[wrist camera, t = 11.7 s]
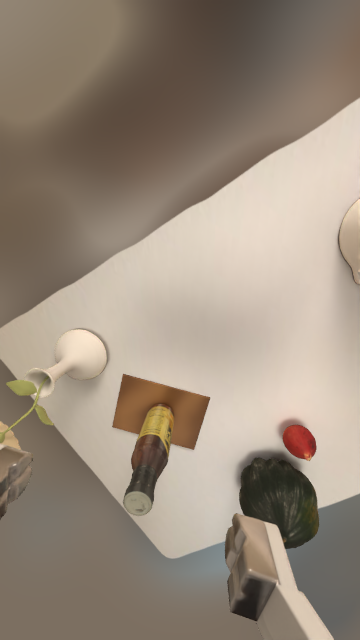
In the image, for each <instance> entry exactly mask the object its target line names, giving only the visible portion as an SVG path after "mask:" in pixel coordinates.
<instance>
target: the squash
mask: <svg viewBox="0 0 360 640" xmlns="http://www.w3.org/2000/svg"><path fill="white" fill-rule="evenodd" d="M241 486H242V487H241V489H240V493H239V501H240V505H241V509H242V511H243V514H244V516H248V517H252V518H255V519H259V520H261V521H264V522H268V523H271V524H275V525H277V527H278V529H279V531H280V534H281V537H282V541H283V544H284V547H285V549H289V548H296V547H298V546H301V545H303V544H304V543H305V542H308V541H309V540H311V539H312V538H313V537H314V536H315V535H316V533H317V531H318V527H319V517H318V511H317V497H316V492H315V489H314V487H313V485H312V484H311V482H310V481H309V479H308V478H307V477H306V476H305V475H304V474H303V473H301V472H300V471H298V470H297V469H295V468H294V467H293V466H292V465H291V464H290V463H289V462H287V461H285V460H280V461H277V460H276V459H273V458H271V459H269V460H267V461H265V460H264V459H262V458H255V459H254V460H253V461H252V464H251V465H249V466H247V467H246V468H245V469H244V470H243V472H242V475H241Z"/></svg>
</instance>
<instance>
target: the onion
mask: <svg viewBox="0 0 360 640" xmlns="http://www.w3.org/2000/svg"><path fill="white" fill-rule="evenodd" d="M283 442H284V445H285V447H286V448H287V449H288V451H289V452H290V453H291V454H292V455H294V456H296V457H298V458H301V459H306V460H309V461H310V460H311V458H312V457H313V456H314V454H315V452H316V441H315V438H314V436H313V435H312V434H311V432H310V431H309V430H308V429H307V428H305V427H303V426H300V425H292V426H289V427H287V428H286V429H285V431H284V433H283Z"/></svg>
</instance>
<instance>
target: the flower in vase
mask: <svg viewBox="0 0 360 640" xmlns="http://www.w3.org/2000/svg"><path fill="white" fill-rule="evenodd" d="M55 359H56V362H57V364H56V365H54V366H52V367H50V368H47V369H40V368H34V369H31V370H29V371H28V372H27V373H26V374H25V377H24V380H17V381H12V382H8V383H6V384H7V385H8V386H9V387H10V388H11V389H12V390H13V391H14V392H15V393H16V394H18V395H20V396H24V395H31V394H32V395H34V396H36V399H35V402H34V404H33V406H32V408H31V409H30V410H29V411H28V412H27V413H26V414H25V415H24V416H22V417H21V418H20V419H19V420H18V421H16V422H15V423H14V424H13V425H11V426H10V427H8V426H7V425H5V424H3V423H2V422H1V421H0V444H4V445H7V446H10V447H13V448H16V449H19V450H21V449H20V446H19V445H18V444H19V442H18V440H17V439H16V438H15V437H13V436H14V433H13V432H12V431H11V430H10V429H11V428H13V427H14V426H15V425H16V424H17V423H19V422H20V421H21V420H22V419H23V418H25V417H26V416H27V415H28V414H29V413H30V412H31V411H32V410H33V409H34V408H35V409H36V411H37V413H38V416H39V418H40V420H41V421H42V422H43V423H45V424H47V425H54V424H53V423H52V422H51V421H50V419H49V418H48V416H47V414H46V411H45V409H44V408H43V407H41V406H38V405H36V404H37V401H38V398H39V397H47V396H49V395H50V394H51V393H52V392H53V390H54V384H55V382H56V381H57V380H58V378H60V377H61V376H62V375H63V374H64V373H65V374H66V375H68V376H70V377H72V378H74V379H78V380H87V379H91V378H94V377H96V376H98V375H99V374H100V373H101V372H102V371H103V369H104V368H105V365H106V361H107V355H106V350H105V347H104V345H103V344H102V342H101V341H100V339H99V338H98V337H96V336H95V335H94V334H92V333H91V332H88V331H86V330H81V329H75V330H70V331H68V332H66V333H64V334H63V335H62V336H61V337H60V339H59V340H58V342H57V344H56V346H55Z"/></svg>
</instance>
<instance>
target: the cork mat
mask: <svg viewBox="0 0 360 640" xmlns="http://www.w3.org/2000/svg"><path fill="white" fill-rule="evenodd" d="M209 400H210V397H206V396H202V395H198V394H195V393H191V392H187V391H184V390H180V389H176V388H173V387H169V386H165V385H162V384H158V383H154V382H151V381H147V380H143V379H140V378H136V377H132V376H129V375H125V374H123V377H122V382H121V387H120V392H119V397H118V402H117V407H116V412H115V416H114V421H113V426H112V427H115V428H118V429H122V430H125V431H129V432H132V433H136V434H140V431H141V429H142V426H143V424H144V421H145V418H146V416H147V413H148V412H149V410H150V409H151V407H153V406H154V405H156V404H165V405H167V406H168V407H169V408H171V409H172V411H173V414H174V425H173V431H172V438H171V443H172V444H175V445H179V446H182V447H186V448H189V449H193V450H194V447H195V444H196V441H197V438H198V435H199V432H200V428H201V425H202V422H203V419H204V416H205V413H206V409H207V406H208V403H209Z"/></svg>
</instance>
